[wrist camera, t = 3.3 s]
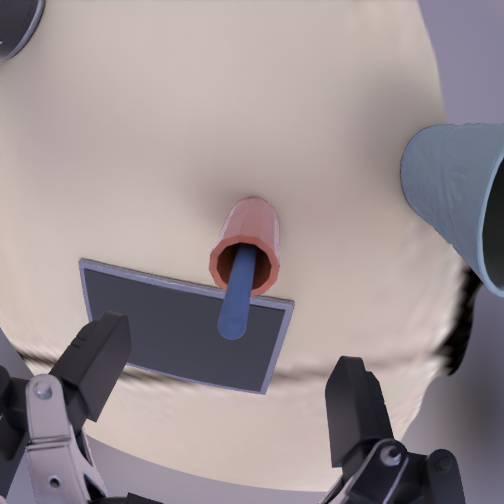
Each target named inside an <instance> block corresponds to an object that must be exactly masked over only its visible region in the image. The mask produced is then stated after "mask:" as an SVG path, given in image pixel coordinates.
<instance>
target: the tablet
mask: <svg viewBox="0 0 504 504" xmlns="http://www.w3.org/2000/svg"><path fill="white" fill-rule="evenodd" d="M79 268H80V275H81V282H82V288H83V293H84V299H85V304H86V309H87V314H88V319H89V323H90V322H91V321H93V320H96V321H99V320H100V319H101V318H102V317H103V315H104V314H105V313H106V312H107V311H112V312H115V313H119V314H122V315H126V316H127V318H128V323H129V331H130V338H131V353H130V357H129V359H128V361H127V363H126V364H127V365H130V366H133V367H137V368H140V369H144V370H147V371H151V372H154V373H158V374H162V375H166V376H169V377H173V378H178V379H182V380H186V381H190V382H195V383H200V384H204V385H209V386H214V387H219V388H225V389H230V390H236V391H242V392H249V393H256V394H263V395H265V393H266V390H267V388H268V385H269V382H270V379H271V376H272V373H273V370H274V367H275V364H276V361H277V358H278V355H279V352H280V349H281V346H282V343H283V340H284V337H285V334H286V331H287V328H288V325H289V321H290V318H291V315H292V312H293V308H294V301H288V300H282V299H276V298H270V297H264V296H258V295H255V296H251V297H250V304H249V312H248V319H247V326H246V330H245V333H244V334H243V335H242V336H241V337H240V338H238V339H235V340H229V339H226V338H224V337H223V336H221V334H220V333H219V331H218V327H217V323H218V319H219V315H220V312H221V308H222V304H223V301H224V297H225V293H226V291H225V290H223V289H220V288H215V287H209V286H204V285H199V284H194V283H189V282H184V281H179V280H175V279H170V278H165V277H160V276H156V275H151V274H147V273H142V272H138V271H133V270H129V269H124V268H120V267H116V266H111V265H107V264H103V263H99V262H95V261H91V260H86V259H81V260H79Z"/></svg>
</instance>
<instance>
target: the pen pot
mask: <svg viewBox="0 0 504 504" xmlns="http://www.w3.org/2000/svg"><path fill="white" fill-rule="evenodd" d="M240 242H243V243H249V244H254V245H256V246H257V253H256V261H255V268H254V275H253V283H252V290H251V296H255V295H259V294H262V293H265V292H266V291H267V290H268V289H269V288H270V287H271V286H272V285H273V284H274V283H275V282H276V280H277V276H278V272H279V267H280V257H279V225H278V219H277V214H276V212H275V210H274V208H273V207H272V206H271V205H270V204H269V203H268V202H267V201H265V200H263V199H260V198H246V199H243V200H241V201H239V202H238V203H237V204H236V205H235V206H234V207H233V209H232V210H231V212H230V213H229V215H228V217H227V219H226V221H225V224H224V226H223V228H222V230H221V232H220V234H219V236H218V238H217V241H216V243H215V245H214V247H213V249H212V251H211V254H210V262H209V271H210V273H211V275H212V277H213V279H214V281H215V283H216V284H217V285H218V286H219V287H221V288H222V289H223V290H225V291H226V290H227V286H228V282H229V279H230V275H231V271H232V268H233V264H234V261H235V257H236V253H237V250H238V246H239V243H240Z"/></svg>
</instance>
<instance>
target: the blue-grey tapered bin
mask: <svg viewBox="0 0 504 504" xmlns="http://www.w3.org/2000/svg"><path fill="white" fill-rule="evenodd" d="M400 172H401V183H402V187H403V191H404V194H405V197H406V199H407V201H408V203H409V205H410V206H411V207H412V209H413V210H414V211H415V212H416V213H417V214H418V215H419V216H420V217H421V218H423V219H424V220H425V221H426V222H428V224H429V225H431V226H432V227H433V228H434V229H435V230H436V231H437V232H438V233H439V234H440V235H441V236H442V237H443V238H444V239H445V240H446V242H448V243H449V244H453V247H454V249H455V250H456V251H457V253H458V254H459V255H460V256H461V257H462V258H463V259H464V260H465V261H466V263H467V264H468V265H469V266H470V267H471V268H472V269H473V271H474V272H475V273H476V274H477V275H478V277H479V278H480V279H481V280H482V282H483V283H484V284H485V285H486V287H487V288H488V289H489V290H490V291H491V292H492V293H493V294H495V295H497V296H499V297H503V298H504V123H503V124H485V123H475V124H469V123H468V124H464V125H460V126H457V125H453V124H446V125H434V126H430V127H427V128H425V129H423V130H422V131H420V132H419V133H417V134H416V135H415V136H414V137H413V138H412V139H411V140H410V142H409V143H408V145H407V147H406V149H405V152H404V154H403V159H402V160H401V170H400Z"/></svg>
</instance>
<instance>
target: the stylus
mask: <svg viewBox="0 0 504 504" xmlns="http://www.w3.org/2000/svg"><path fill="white" fill-rule="evenodd" d="M256 253H257V246H256V245H254V244H249V243H243V242H240V243H239V246H238V250H237V253H236V257H235V261H234V264H233V268H232V271H231V275H230V279H229V282H228V286H227V290H226V293H225V297H224V301H223V304H222V308H221V312H220V315H219V319H218V323H217V327H218V331H219V333H220V334H221V336H223V337H224V338H226V339H229V340H235V339H238V338H240V337H241V336H242V335H243V334H244V333H245V330H246V326H247V319H248V312H249V304H250V297H251V290H252V283H253V275H254V268H255V261H256Z"/></svg>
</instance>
